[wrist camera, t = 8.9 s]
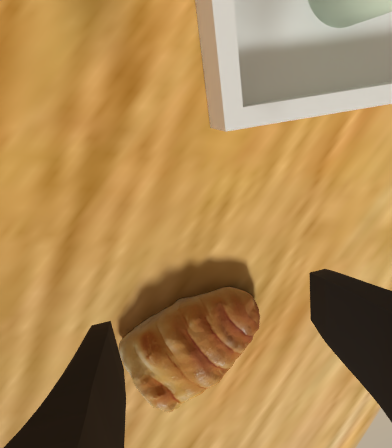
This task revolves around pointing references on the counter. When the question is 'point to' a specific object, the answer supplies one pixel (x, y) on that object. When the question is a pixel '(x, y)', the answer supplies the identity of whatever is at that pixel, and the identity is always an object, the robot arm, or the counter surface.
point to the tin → (348, 11)
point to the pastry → (189, 345)
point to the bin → (288, 62)
